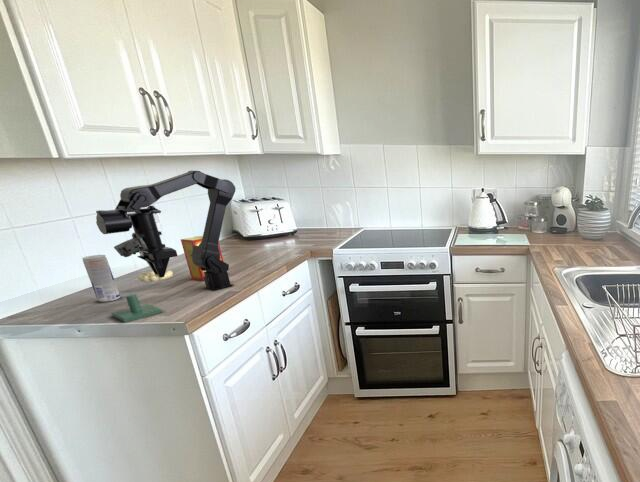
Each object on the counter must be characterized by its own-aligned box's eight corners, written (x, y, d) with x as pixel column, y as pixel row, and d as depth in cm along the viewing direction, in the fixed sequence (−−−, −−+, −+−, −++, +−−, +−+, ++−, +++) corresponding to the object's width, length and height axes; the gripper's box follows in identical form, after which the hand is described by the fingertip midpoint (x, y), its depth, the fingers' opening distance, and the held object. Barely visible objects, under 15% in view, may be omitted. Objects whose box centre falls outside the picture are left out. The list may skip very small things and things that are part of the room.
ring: (166, 273, 143) (165, 268, 142) (178, 276, 139) (177, 271, 138) (134, 280, 136) (132, 274, 135) (145, 283, 131) (143, 277, 131)
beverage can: (125, 297, 141) (110, 254, 136) (108, 302, 136) (92, 258, 131) (110, 296, 142) (94, 254, 136) (93, 302, 136) (76, 258, 131)
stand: (149, 307, 132) (142, 289, 129) (161, 312, 127) (155, 293, 125) (112, 316, 124) (105, 297, 122) (124, 322, 120) (117, 302, 118)
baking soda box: (203, 280, 159) (191, 239, 153) (191, 279, 161) (180, 238, 156) (226, 274, 167) (216, 235, 162) (215, 272, 169) (205, 234, 164)
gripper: (100, 230, 128) (117, 278, 133) (125, 236, 119) (142, 287, 124) (145, 225, 137) (159, 270, 142) (171, 230, 128) (184, 278, 133)
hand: (160, 276), depth 135 cm, fingers closed on ring, 2 cm apart
